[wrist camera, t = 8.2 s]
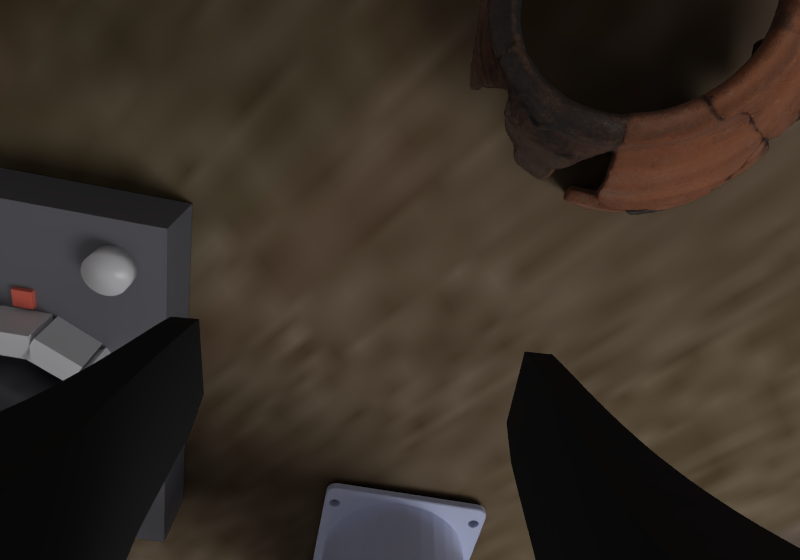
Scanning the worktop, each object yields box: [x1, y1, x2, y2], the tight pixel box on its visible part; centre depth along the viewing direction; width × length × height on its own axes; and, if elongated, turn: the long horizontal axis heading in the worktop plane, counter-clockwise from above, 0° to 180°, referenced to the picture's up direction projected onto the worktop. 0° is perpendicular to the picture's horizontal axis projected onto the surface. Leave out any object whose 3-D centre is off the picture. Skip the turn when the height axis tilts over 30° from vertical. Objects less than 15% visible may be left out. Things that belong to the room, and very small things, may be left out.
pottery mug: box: [470, 0, 800, 215], centre depth 16 cm, size 12×10×8 cm
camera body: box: [0, 168, 192, 542], centre depth 23 cm, size 16×10×4 cm, turn 169°
